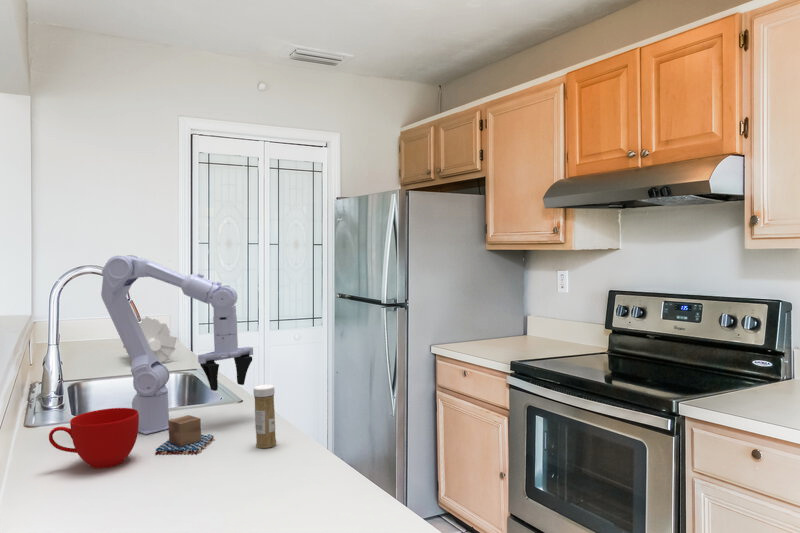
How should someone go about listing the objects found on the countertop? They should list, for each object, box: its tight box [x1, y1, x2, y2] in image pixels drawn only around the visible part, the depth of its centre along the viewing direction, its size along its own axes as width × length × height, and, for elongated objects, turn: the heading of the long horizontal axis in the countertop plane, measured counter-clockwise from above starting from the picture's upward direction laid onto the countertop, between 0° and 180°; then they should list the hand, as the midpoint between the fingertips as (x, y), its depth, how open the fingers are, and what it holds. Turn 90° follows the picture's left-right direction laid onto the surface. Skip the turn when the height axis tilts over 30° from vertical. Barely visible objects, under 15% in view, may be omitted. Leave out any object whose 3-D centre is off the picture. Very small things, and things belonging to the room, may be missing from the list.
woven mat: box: [154, 434, 216, 456], centre depth 135 cm, size 10×11×2 cm
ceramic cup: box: [48, 407, 139, 469], centre depth 126 cm, size 13×17×10 cm
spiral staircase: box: [122, 316, 178, 363], centre depth 245 cm, size 18×18×25 cm
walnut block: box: [168, 414, 202, 446], centre depth 135 cm, size 5×5×5 cm
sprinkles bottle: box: [253, 384, 277, 449], centre depth 134 cm, size 5×5×14 cm
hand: (227, 387), depth 152 cm, fingers open, 7 cm apart
